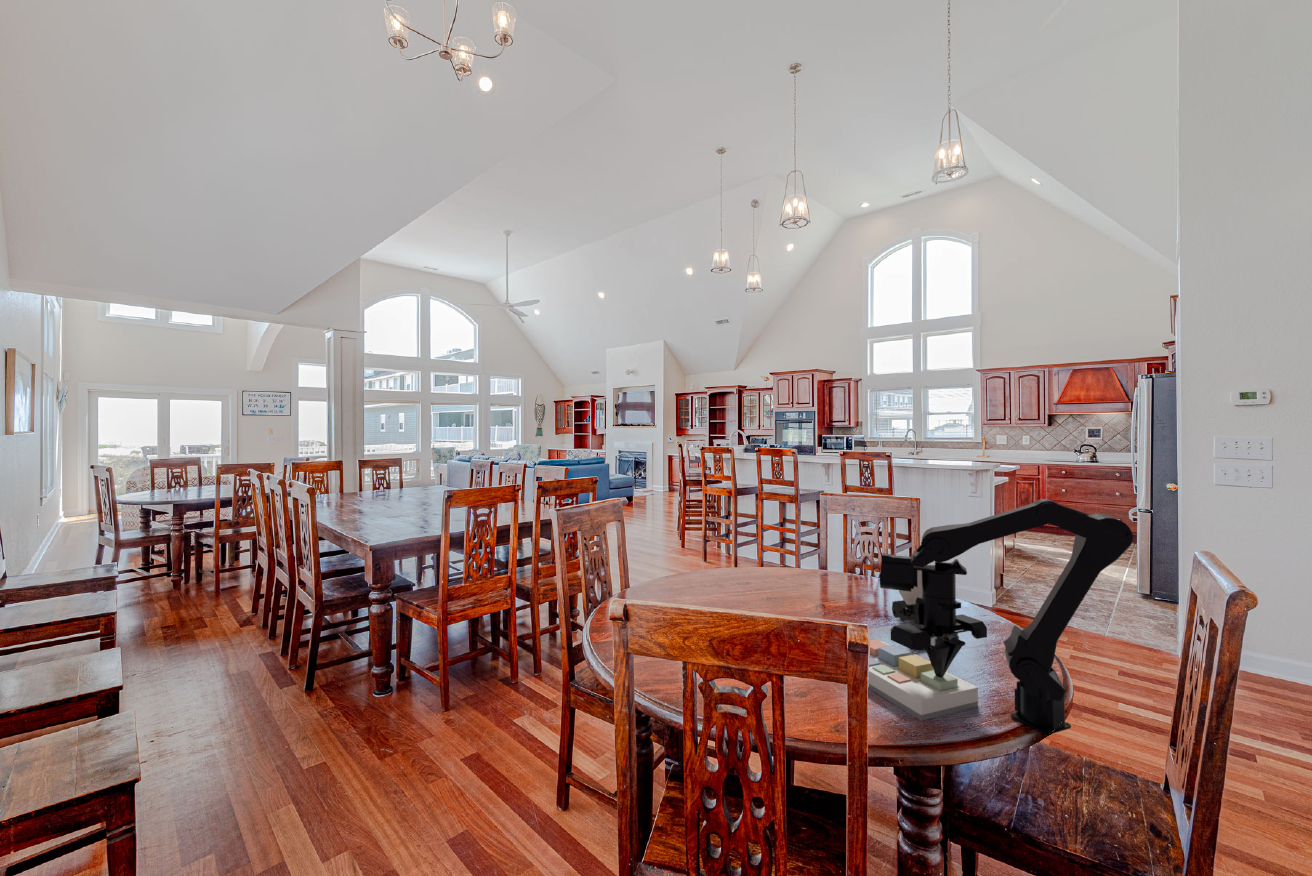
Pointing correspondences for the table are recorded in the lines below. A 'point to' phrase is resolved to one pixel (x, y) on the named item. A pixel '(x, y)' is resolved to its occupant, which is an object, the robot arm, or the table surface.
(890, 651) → the slate key
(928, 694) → the keypad
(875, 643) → the terracotta key
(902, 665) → the ochre key
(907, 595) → the stone tool
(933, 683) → the sage key
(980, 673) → the table surface
